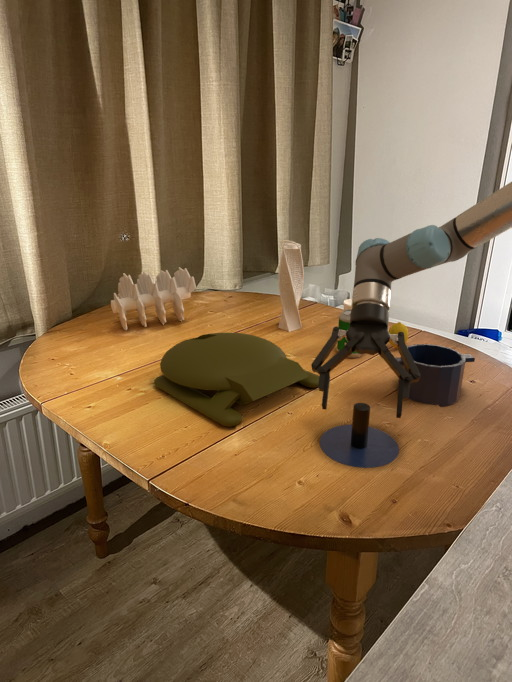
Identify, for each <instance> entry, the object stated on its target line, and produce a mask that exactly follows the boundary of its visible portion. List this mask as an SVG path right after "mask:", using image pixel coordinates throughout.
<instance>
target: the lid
mask: <svg viewBox="0 0 512 682" xmlns="http://www.w3.org/2000/svg"><path fill="white" fill-rule="evenodd" d="M370 416H371V406H370V405H369V404H368V403H365V402H356V403H354V404H353V406H352V419H351V420H352V421H351V424H342V425H341V424H340V425H337V426H333V427H331V428H329V429H327V430H326V431H324V432H323V433H322V434H321V436H320V438H319V447H320V448H321V451H322V452H323V454H324V455H326V457H328V458H330V459H331V460H332V461H334V462H336V463H339V464H342V465H344V466H348V467H353V468H358V469H359V468H360V469H373V468H380V467H384V466H387V465H389V464H391V463H393V462H394V461H395V460H396V459H397V458H398V456H399V454H400V447H399V444H398V441H396V440H395V438H393V437H392V436H391V435H390V434H389V433H387V432H385V431H383V430H381V429H379V428H376V427H373V426H370Z"/></svg>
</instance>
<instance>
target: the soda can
mask: <svg viewBox="0 0 512 682" xmlns="http://www.w3.org/2000/svg"><path fill="white" fill-rule="evenodd" d="M350 315H351V309H348V310H344V309H343V310H342V312H340V314H339V315H338V324H337V325H338V326H337V327H338V328H339V329H340V330H345V331H347V330H348V329H349V325H350ZM347 343H348V340H347V338H346V337H343V338H342V340H340V341H338V342H337V344H336V351H337V353H338V352H339V351H340V350H341V349H342V348H343V347H344V346H345V345H346V344H347ZM362 355H363V354H358V353H357V352H356V351H354V352H353V353H352V354H351V355H349V356H348V357H347V358H346V359H357V358H360V357H362Z"/></svg>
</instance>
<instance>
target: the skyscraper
mask: <svg viewBox="0 0 512 682" xmlns="http://www.w3.org/2000/svg"><path fill="white" fill-rule="evenodd" d="M279 243H280V246H281V250H282V251H281V257H280V261H279V269H278V290H279V292H278V293H279V299H280V305H281V313H280V318H279V322H278V326H277V327H278V328H277V329H281V330H283V331H286V332H288V333H291V332H294V331H297V330H301V329H303V325H302V320H301V316H300V310H299V305H300V302H301V297H302V294H303V288H304V282H305V281H304V280H305V271H304V269H305V268H304V259H303V255H302V244H301V243H297V242H296V241H293V240H289V239H284V240H280V241H279Z"/></svg>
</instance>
